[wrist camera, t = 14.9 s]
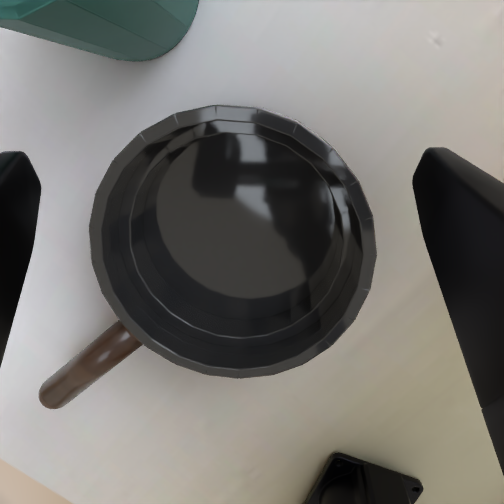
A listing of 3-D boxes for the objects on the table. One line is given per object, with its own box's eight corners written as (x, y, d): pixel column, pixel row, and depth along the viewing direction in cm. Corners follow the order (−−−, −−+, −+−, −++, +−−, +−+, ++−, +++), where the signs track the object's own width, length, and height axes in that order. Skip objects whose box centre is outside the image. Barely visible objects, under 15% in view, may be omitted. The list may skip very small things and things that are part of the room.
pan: (306, 359, 25) (309, 411, 20) (106, 289, 24) (68, 328, 20) (401, 158, 20) (430, 171, 16) (158, 68, 20) (122, 58, 16)
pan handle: (142, 298, 21) (129, 314, 20) (165, 321, 22) (155, 338, 20) (44, 380, 24) (25, 400, 22) (66, 399, 24) (49, 421, 23)
